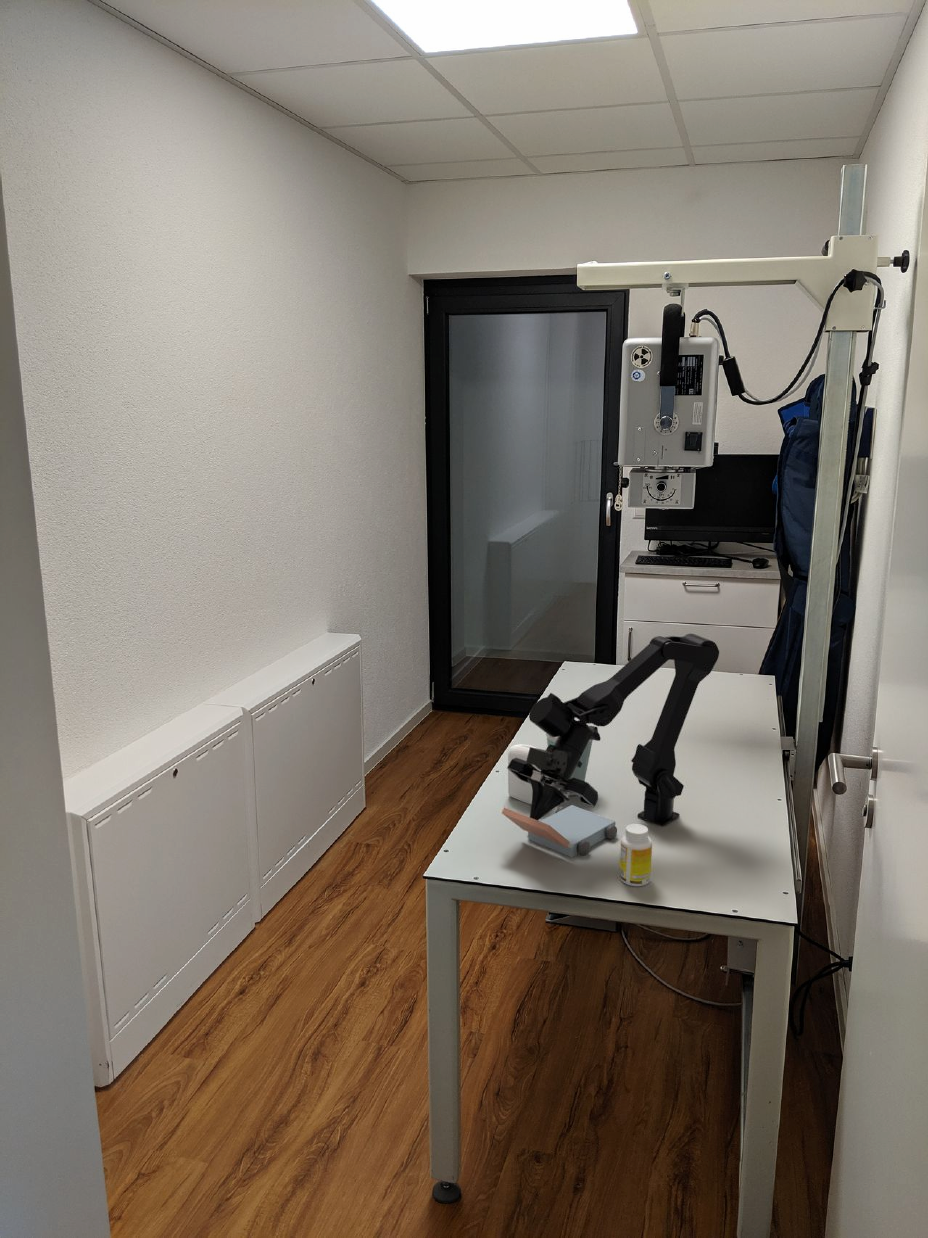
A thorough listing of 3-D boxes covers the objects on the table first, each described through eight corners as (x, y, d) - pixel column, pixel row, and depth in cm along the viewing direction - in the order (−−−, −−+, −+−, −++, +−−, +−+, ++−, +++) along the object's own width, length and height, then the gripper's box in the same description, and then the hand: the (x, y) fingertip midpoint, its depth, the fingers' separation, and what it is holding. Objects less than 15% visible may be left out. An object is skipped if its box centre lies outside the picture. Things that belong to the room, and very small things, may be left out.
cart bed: (566, 814, 200) (566, 802, 199) (620, 834, 191) (620, 822, 190) (523, 836, 190) (523, 824, 190) (577, 859, 181) (578, 847, 181)
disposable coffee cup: (534, 791, 211) (535, 727, 208) (562, 776, 219) (564, 714, 216) (574, 804, 205) (576, 738, 201) (602, 788, 212) (604, 725, 209)
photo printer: (504, 796, 209) (505, 743, 206) (518, 790, 212) (518, 738, 209) (540, 810, 202) (541, 756, 199) (553, 804, 205) (554, 750, 202)
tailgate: (524, 824, 189) (501, 806, 183) (574, 844, 181) (552, 826, 174) (522, 830, 189) (498, 811, 182) (572, 850, 180) (549, 832, 174)
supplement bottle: (656, 879, 174) (658, 828, 171) (639, 891, 170) (641, 838, 167) (630, 869, 178) (632, 818, 175) (613, 880, 174) (615, 829, 171)
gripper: (512, 718, 186) (474, 789, 181) (589, 742, 173) (550, 819, 169) (539, 744, 193) (503, 813, 189) (614, 769, 181) (578, 843, 176)
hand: (532, 821), depth 180 cm, fingers closed, pressing on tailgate
